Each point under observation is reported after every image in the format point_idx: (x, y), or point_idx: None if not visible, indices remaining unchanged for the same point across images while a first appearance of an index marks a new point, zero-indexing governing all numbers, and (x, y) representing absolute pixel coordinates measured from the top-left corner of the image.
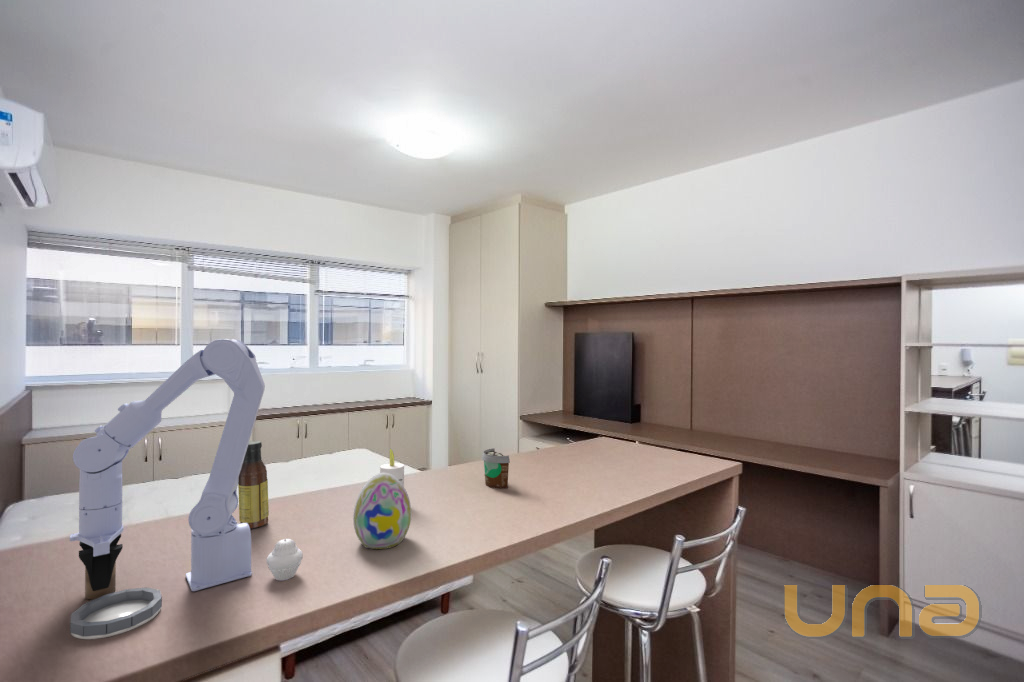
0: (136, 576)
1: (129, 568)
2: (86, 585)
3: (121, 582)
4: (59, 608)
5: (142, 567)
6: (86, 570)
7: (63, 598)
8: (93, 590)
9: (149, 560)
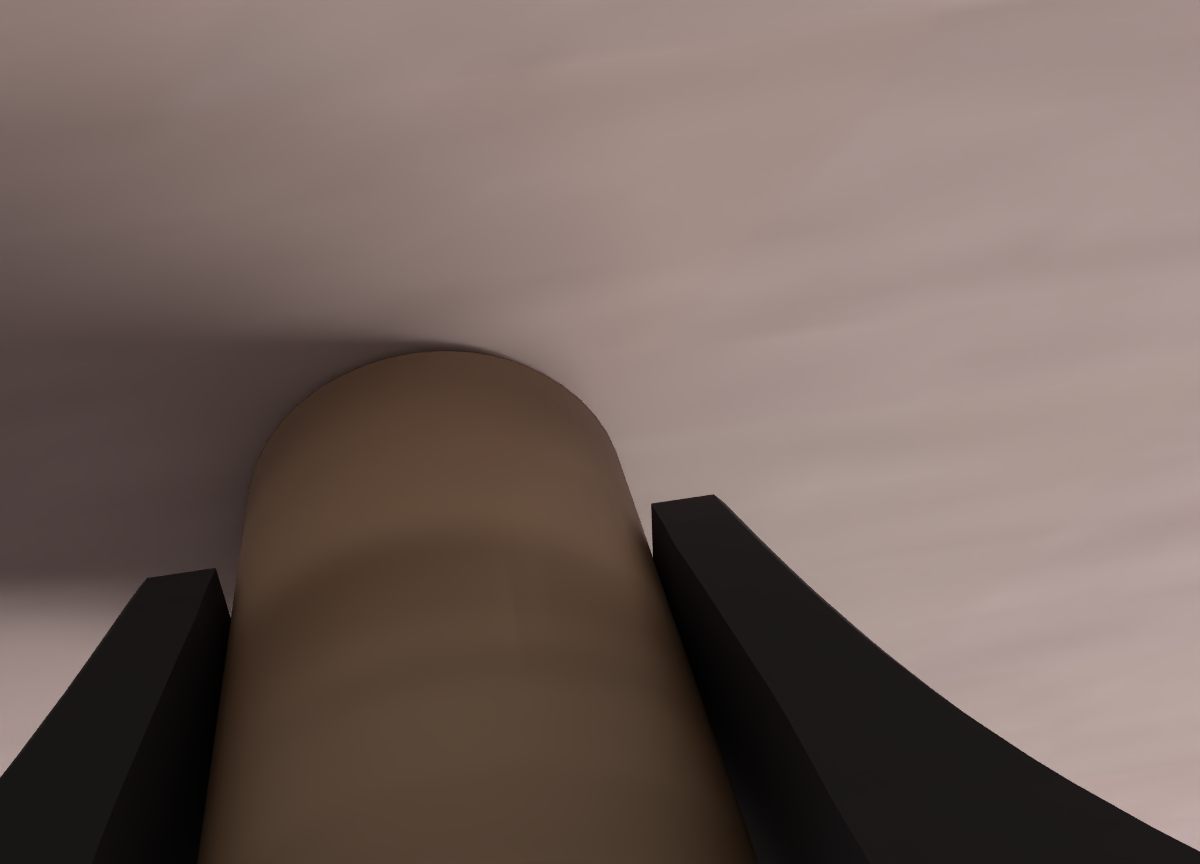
0: None
1: (1124, 665)
2: (328, 512)
3: None
4: (167, 38)
5: None
6: (338, 735)
7: (621, 37)
8: (135, 596)
9: (1191, 797)
